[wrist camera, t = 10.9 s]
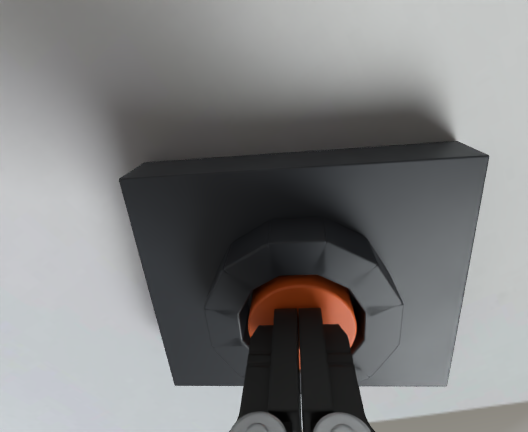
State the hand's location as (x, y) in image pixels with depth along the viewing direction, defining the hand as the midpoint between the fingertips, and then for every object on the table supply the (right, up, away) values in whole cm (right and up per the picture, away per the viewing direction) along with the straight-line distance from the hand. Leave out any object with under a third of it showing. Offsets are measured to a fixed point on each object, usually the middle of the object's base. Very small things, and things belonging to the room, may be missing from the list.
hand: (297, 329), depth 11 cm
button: (0, +1, +2) cm, 2 cm away
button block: (0, +2, +4) cm, 4 cm away
